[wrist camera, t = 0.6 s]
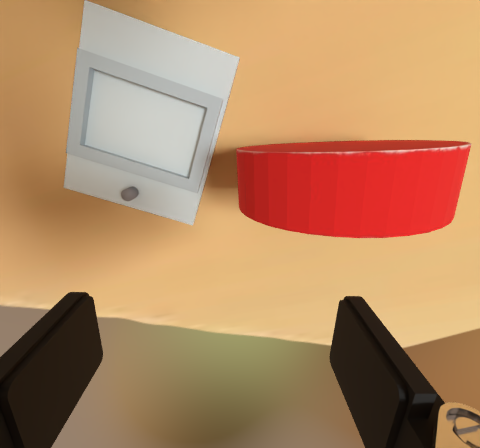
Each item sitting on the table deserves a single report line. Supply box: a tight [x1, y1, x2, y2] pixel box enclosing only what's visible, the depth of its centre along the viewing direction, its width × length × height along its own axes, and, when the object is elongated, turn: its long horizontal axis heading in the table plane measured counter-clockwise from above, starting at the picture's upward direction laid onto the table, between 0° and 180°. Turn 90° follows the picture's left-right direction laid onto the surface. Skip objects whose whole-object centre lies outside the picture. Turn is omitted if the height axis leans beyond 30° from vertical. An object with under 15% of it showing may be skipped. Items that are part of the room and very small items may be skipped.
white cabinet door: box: [64, 0, 240, 225], centre depth 33 cm, size 22×18×3 cm
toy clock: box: [236, 140, 471, 238], centre depth 27 cm, size 20×6×20 cm, turn 92°
